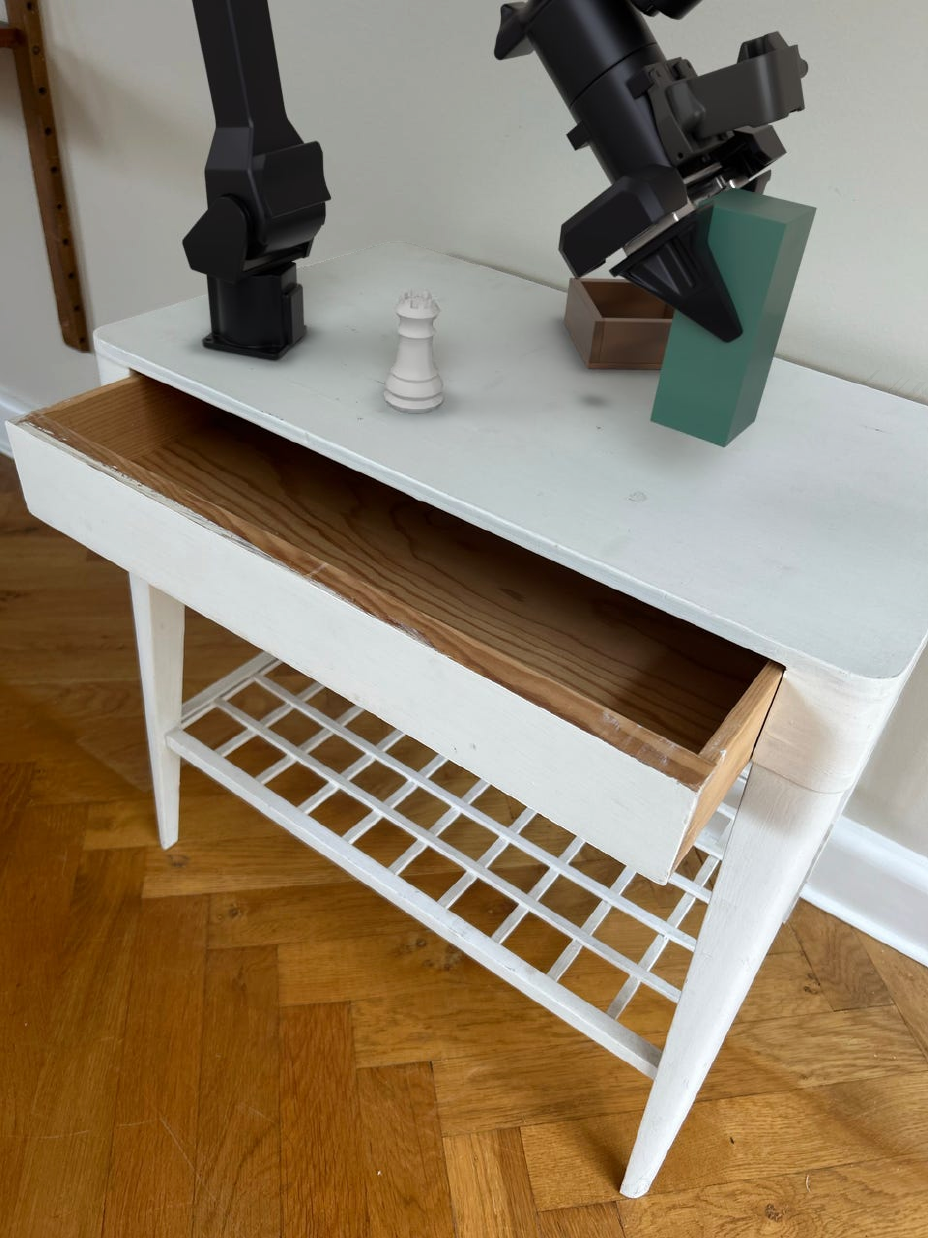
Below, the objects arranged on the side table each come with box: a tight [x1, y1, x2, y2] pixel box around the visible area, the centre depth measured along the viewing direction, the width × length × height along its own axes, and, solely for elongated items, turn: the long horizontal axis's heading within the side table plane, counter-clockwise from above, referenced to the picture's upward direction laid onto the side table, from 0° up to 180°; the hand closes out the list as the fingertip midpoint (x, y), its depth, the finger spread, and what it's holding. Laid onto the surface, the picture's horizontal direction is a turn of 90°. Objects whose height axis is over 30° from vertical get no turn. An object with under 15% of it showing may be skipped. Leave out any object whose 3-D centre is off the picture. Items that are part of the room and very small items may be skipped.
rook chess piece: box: [383, 289, 444, 414], centre depth 72 cm, size 4×4×8 cm
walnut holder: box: [563, 277, 675, 370], centre depth 85 cm, size 10×10×4 cm
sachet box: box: [649, 188, 818, 448], centre depth 59 cm, size 5×5×13 cm
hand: (752, 325), depth 58 cm, fingers closed on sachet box, 5 cm apart
